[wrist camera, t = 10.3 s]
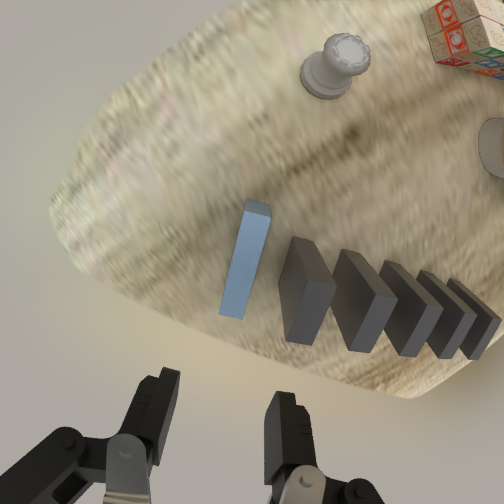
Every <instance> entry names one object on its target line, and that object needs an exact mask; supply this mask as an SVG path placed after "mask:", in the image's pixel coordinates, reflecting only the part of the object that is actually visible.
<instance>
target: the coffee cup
mask: <svg viewBox="0 0 504 504" xmlns="http://www.w3.org/2000/svg"><path fill="white" fill-rule="evenodd" d="M479 153H480V157H481V160H482V163H483V165H484V167H485V168H486V170H487V171H488V172H489V173H491V174H492V175H495V176H498V177H500V178H503V179H504V118H497V119H489V120H487V121H486V122H485V123H484V124H483V126H482V128H481V130H480V134H479Z"/></svg>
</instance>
